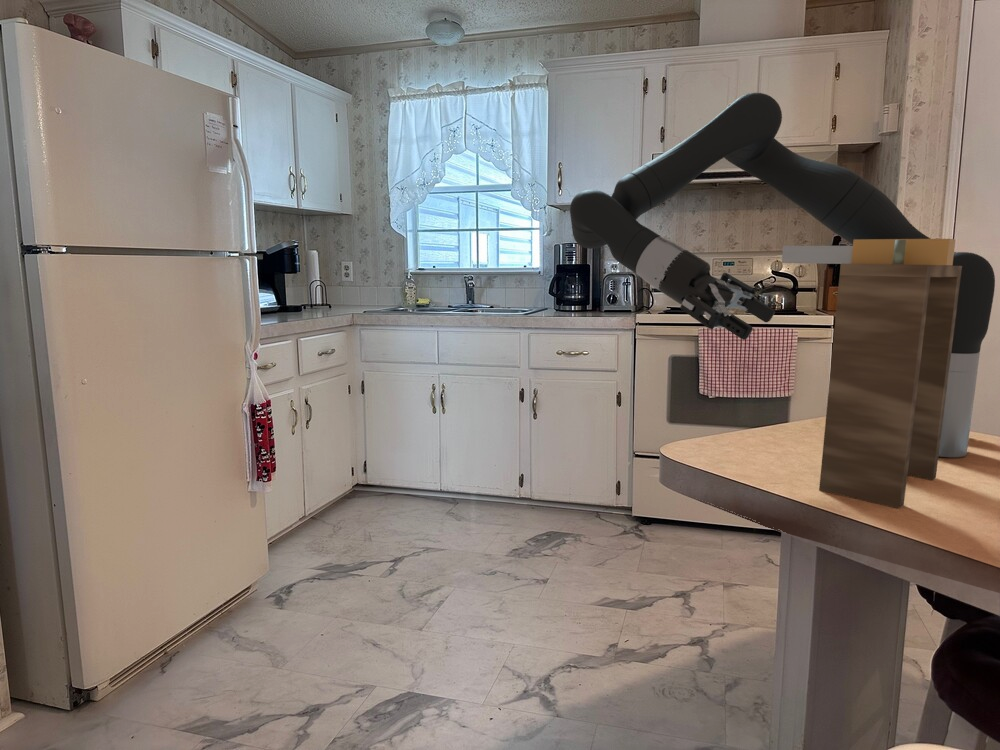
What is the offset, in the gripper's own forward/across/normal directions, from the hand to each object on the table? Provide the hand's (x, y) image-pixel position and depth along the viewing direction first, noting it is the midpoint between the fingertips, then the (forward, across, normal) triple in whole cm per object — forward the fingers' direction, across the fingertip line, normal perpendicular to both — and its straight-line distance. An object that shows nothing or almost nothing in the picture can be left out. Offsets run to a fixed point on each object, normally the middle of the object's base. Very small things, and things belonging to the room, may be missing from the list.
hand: (760, 325), depth 103 cm
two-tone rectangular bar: (+7, -2, +14) cm, 16 cm away
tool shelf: (+26, +1, -11) cm, 28 cm away
